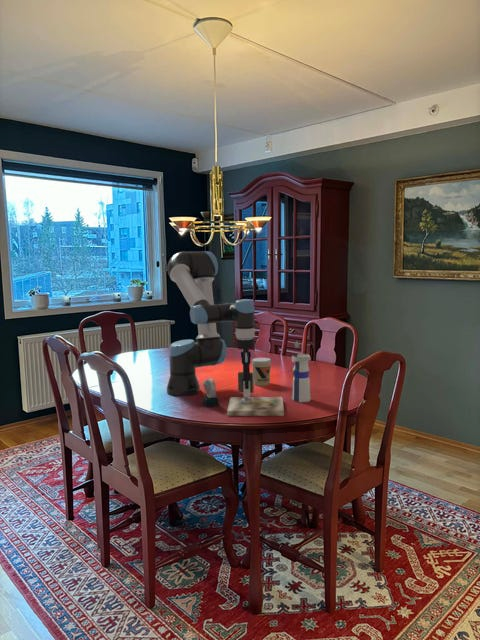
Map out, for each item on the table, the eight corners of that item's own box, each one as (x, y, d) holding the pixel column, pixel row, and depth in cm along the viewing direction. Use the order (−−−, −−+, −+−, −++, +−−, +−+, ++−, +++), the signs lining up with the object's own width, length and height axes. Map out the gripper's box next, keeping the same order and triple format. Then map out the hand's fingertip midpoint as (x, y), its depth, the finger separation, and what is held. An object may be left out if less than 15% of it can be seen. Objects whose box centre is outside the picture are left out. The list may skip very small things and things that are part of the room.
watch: (214, 401, 207) (213, 376, 206) (220, 406, 200) (219, 380, 198) (201, 402, 205) (201, 377, 204) (207, 408, 198) (206, 382, 196)
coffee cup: (255, 387, 228) (255, 362, 227) (249, 382, 237) (249, 358, 236) (274, 385, 231) (273, 360, 229) (267, 380, 240) (267, 356, 238)
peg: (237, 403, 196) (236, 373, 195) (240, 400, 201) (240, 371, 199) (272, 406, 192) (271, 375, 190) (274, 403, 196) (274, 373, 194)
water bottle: (286, 399, 207) (286, 342, 204) (299, 395, 213) (299, 339, 210) (302, 403, 202) (302, 344, 198) (314, 399, 208) (314, 341, 204)
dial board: (227, 415, 188) (227, 410, 188) (230, 401, 206) (230, 396, 206) (283, 415, 187) (283, 410, 187) (282, 401, 205) (282, 396, 205)
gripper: (255, 341, 186) (257, 400, 189) (253, 334, 202) (255, 389, 205) (236, 342, 186) (237, 401, 189) (235, 335, 202) (237, 390, 205)
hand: (246, 395), depth 197 cm, fingers closed on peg, 3 cm apart
